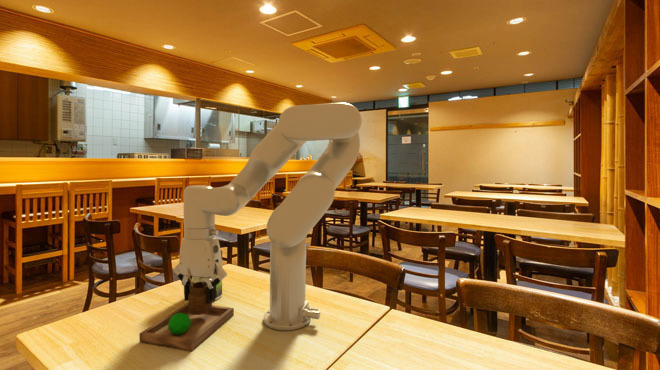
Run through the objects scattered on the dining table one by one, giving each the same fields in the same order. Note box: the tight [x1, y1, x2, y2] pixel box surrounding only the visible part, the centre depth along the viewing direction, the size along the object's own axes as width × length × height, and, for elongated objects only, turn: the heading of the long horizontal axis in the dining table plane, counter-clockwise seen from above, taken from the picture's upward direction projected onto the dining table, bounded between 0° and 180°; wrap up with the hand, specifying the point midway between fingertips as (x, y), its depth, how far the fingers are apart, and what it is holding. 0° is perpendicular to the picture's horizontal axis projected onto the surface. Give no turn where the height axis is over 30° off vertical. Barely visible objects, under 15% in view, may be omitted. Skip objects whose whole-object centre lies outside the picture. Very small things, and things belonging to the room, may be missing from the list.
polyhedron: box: [168, 313, 191, 335], centre depth 81 cm, size 5×5×5 cm
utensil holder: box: [187, 269, 213, 315], centre depth 88 cm, size 6×6×12 cm
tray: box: [138, 302, 235, 352], centre depth 85 cm, size 14×18×2 cm
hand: (200, 299), depth 88 cm, fingers closed on utensil holder, 5 cm apart
